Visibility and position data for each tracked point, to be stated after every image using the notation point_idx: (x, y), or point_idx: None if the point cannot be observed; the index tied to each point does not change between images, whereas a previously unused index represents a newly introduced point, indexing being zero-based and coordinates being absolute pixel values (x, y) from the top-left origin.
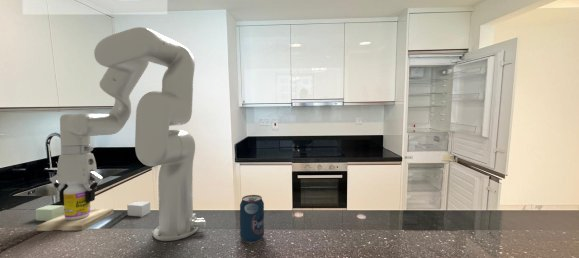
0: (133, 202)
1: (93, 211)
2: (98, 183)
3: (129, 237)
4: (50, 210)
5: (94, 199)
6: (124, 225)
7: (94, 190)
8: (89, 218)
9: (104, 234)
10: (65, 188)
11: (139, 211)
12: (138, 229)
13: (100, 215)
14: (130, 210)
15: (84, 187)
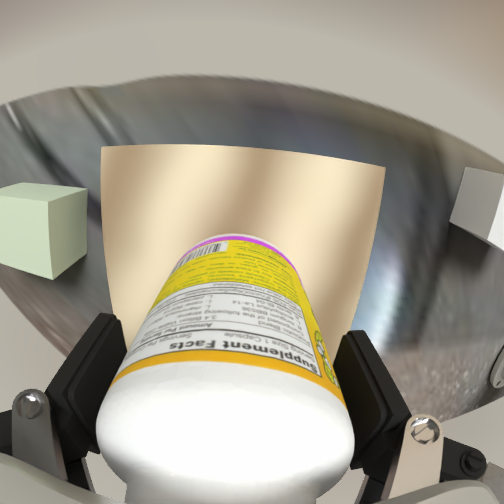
0: (501, 197)
1: (272, 197)
2: (471, 474)
3: (457, 384)
4: (49, 276)
5: (362, 331)
6: (451, 327)
7: (409, 416)
8: (321, 317)
9: (407, 383)
10: (75, 443)
11: (499, 249)
12: (476, 347)
13: (361, 280)
14: (476, 235)
15: (330, 488)
